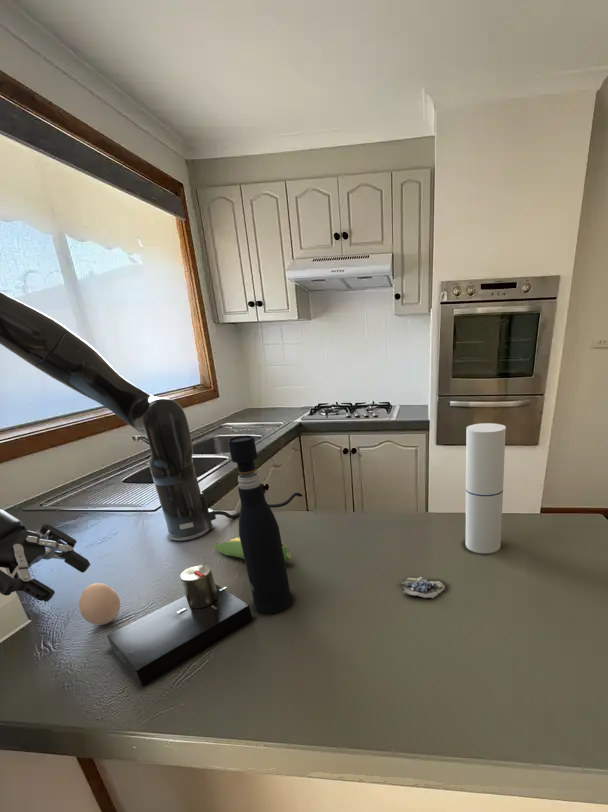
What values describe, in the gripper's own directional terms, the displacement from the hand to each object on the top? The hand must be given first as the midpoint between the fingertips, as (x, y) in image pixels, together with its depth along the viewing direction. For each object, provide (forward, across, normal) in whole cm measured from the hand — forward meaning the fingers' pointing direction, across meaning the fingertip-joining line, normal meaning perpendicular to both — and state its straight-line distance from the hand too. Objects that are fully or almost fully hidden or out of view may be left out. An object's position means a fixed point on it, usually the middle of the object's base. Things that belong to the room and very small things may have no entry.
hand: (70, 581), depth 71 cm
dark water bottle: (+29, +3, -17) cm, 34 cm away
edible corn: (+23, +20, -11) cm, 32 cm away
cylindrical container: (+57, +20, -45) cm, 76 cm away
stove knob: (+19, +1, -11) cm, 22 cm away
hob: (+20, -4, -8) cm, 22 cm away
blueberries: (+48, +6, -36) cm, 60 cm away
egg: (+9, 0, +4) cm, 9 cm away
